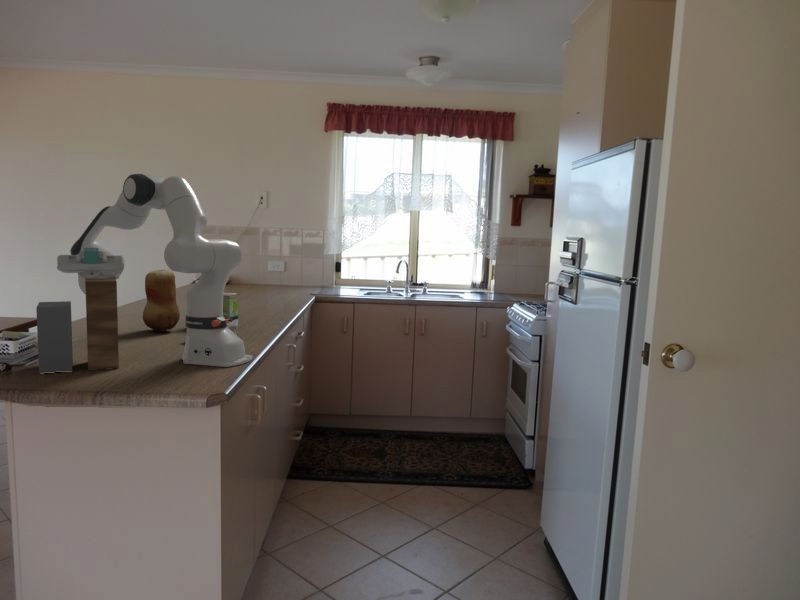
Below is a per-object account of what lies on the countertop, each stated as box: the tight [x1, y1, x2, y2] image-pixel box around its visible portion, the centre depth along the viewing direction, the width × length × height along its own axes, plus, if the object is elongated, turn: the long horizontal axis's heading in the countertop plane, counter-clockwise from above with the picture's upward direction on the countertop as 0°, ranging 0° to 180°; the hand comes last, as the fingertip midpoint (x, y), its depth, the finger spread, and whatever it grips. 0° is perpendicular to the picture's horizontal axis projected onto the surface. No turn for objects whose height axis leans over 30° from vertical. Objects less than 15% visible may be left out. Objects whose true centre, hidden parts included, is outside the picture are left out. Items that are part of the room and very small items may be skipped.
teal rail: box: [84, 248, 99, 264], centre depth 183 cm, size 20×4×4 cm, turn 28°
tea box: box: [223, 292, 239, 327], centre depth 240 cm, size 15×10×15 cm, turn 84°
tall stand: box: [85, 278, 120, 371], centre depth 170 cm, size 12×8×26 cm, turn 29°
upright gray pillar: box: [35, 300, 74, 374], centre depth 164 cm, size 12×8×19 cm, turn 29°
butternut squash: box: [142, 268, 181, 333], centre depth 226 cm, size 14×13×25 cm
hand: (91, 253), depth 188 cm, fingers closed on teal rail, 4 cm apart
